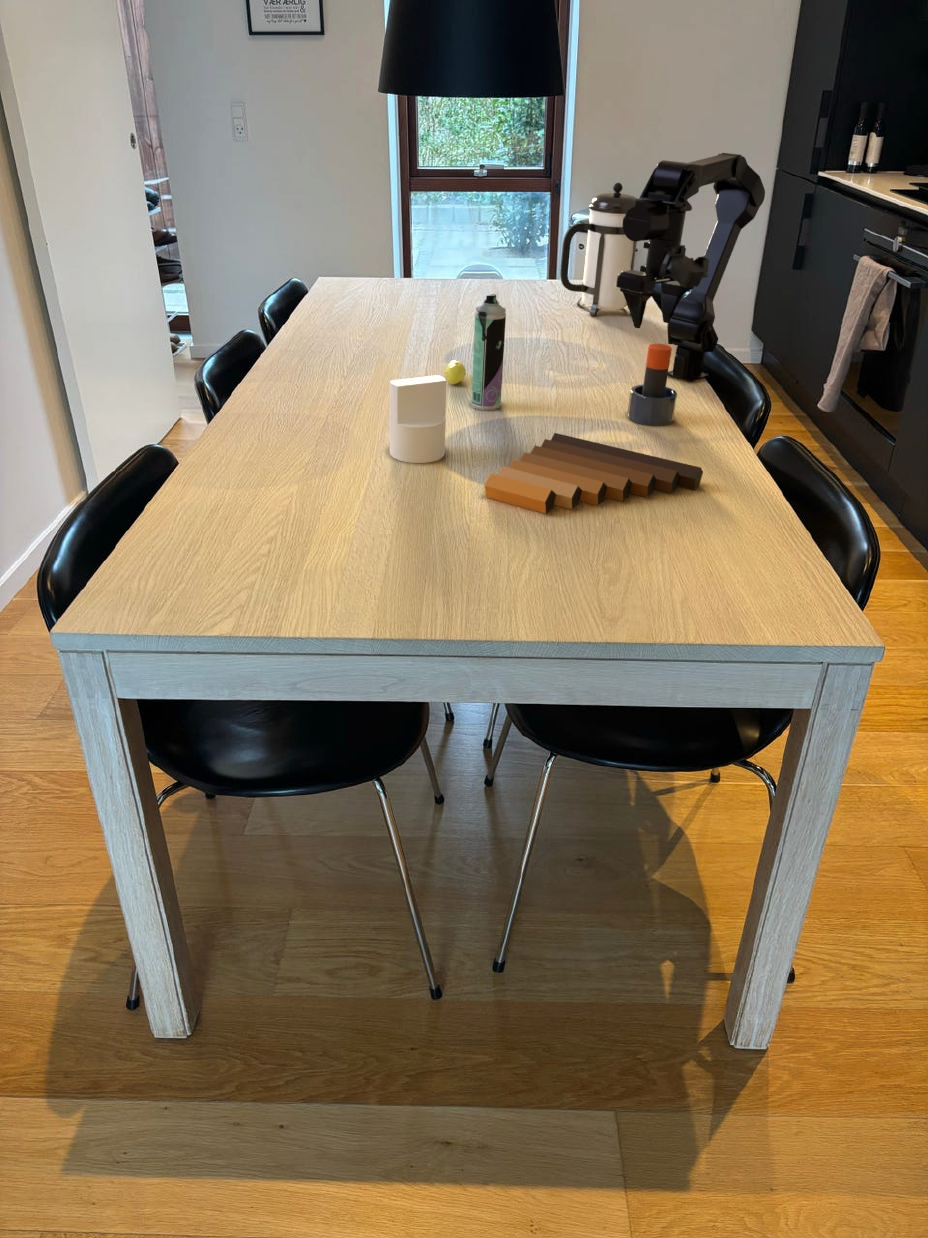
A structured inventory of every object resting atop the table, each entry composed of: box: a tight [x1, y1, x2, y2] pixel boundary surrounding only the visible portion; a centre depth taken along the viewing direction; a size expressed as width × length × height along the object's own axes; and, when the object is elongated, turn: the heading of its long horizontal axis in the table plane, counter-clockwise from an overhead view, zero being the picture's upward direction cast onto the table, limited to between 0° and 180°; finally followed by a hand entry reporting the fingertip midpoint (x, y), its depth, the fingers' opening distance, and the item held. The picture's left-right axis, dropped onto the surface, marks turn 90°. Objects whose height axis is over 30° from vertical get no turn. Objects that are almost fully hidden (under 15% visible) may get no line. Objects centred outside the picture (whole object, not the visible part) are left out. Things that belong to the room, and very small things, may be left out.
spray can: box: [470, 293, 507, 411], centre depth 174 cm, size 6×6×20 cm
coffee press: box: [559, 182, 638, 317], centre depth 237 cm, size 17×16×30 cm
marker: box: [642, 343, 673, 398], centre depth 173 cm, size 4×4×12 cm
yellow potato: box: [444, 360, 467, 385], centre depth 190 cm, size 4×8×4 cm, turn 172°
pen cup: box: [627, 384, 678, 427], centre depth 175 cm, size 8×8×5 cm
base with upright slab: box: [389, 374, 447, 464], centre depth 155 cm, size 9×9×12 cm
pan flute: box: [484, 432, 704, 515], centre depth 146 cm, size 25×3×25 cm
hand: (651, 325), depth 183 cm, fingers open, 9 cm apart
